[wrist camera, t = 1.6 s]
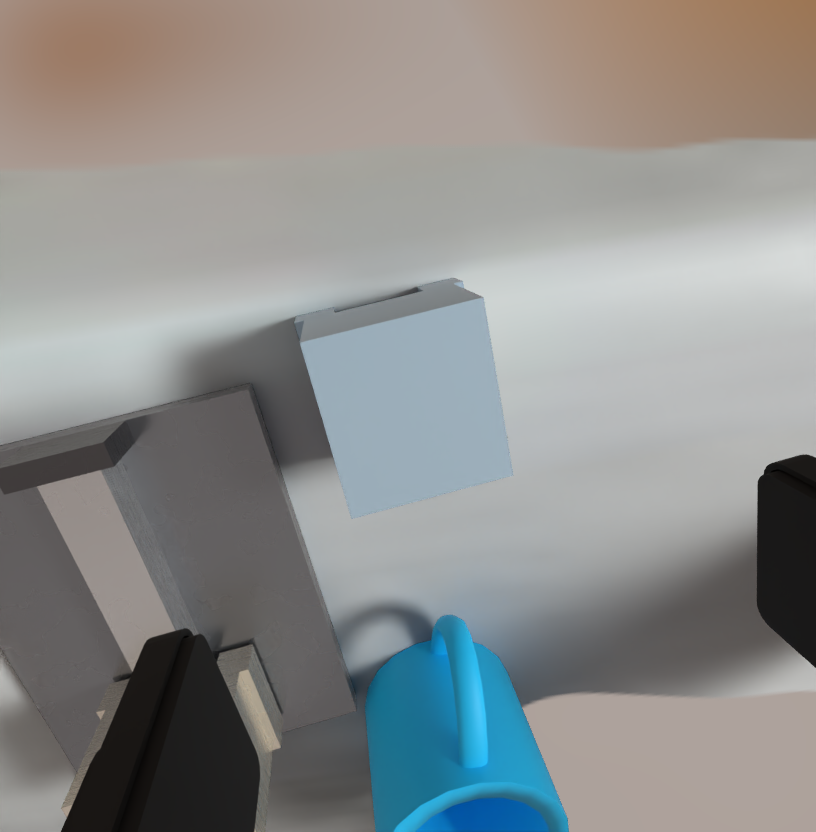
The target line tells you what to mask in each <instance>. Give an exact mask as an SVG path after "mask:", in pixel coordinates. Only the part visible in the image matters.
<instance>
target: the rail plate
mask: <svg viewBox="0 0 816 832" xmlns="http://www.w3.org/2000/svg"><path fill="white" fill-rule="evenodd" d="M183 628H187V629H189V630H190V631H191V632H192V633H193V635H197V634H202V635H203V636H204V637H205V638H206V640H207V642H208V644H209V646H210V649H211V651H212V653H213V655H214V658H215V660H216V662H217V664H218V667H219V669H220V671H221V673H222V676H223V678H224V680H225V682H226V685H227V687H228V689H229V691H230V693H231V696H232V698H233V700H234V702H235V705H236V707H237V709H238V711H239V714H240V716H241V718H242V720H243V723H244V725H245V727H246V729H247V731H248V734H249V736H250V738H251V740H252V743H253V745H254V747H255V749H256V752H257V755H258V759H259V764H260V784H259V794H258V803H257V812H256V821H255V830H254V832H265V826H266V816H267V805H268V795H269V784H270V774H271V764H272V753H273V750H275V749H279V748H281V741H282V733H283V732H286V731H290V730H293V729H296V728H300V727H303V726H307V725H310V724H314V723H317V722H321V721H324V720H327V719H331V718H334V717H338V716H341V715H345V714H348V713H351V712H355V711H357V705H356V695H355V692H354V689H353V686H352V683H351V680H350V677H349V674H348V671H347V668H346V665H345V662H344V659H343V656H342V653H341V650H340V647H339V644H338V641H337V638H336V635H335V632H334V629H333V626H332V623H331V620H330V617H329V614H328V611H327V608H326V605H325V602H324V599H323V596H322V593H321V590H320V587H319V584H318V581H317V578H316V575H315V572H314V569H313V566H312V563H311V560H310V557H309V554H308V551H307V548H306V545H305V542H304V539H303V536H302V534H301V531H300V528H299V525H298V522H297V519H296V516H295V513H294V510H293V507H292V504H291V501H290V498H289V495H288V492H287V489H286V486H285V483H284V480H283V477H282V474H281V471H280V468H279V465H278V462H277V459H276V456H275V453H274V450H273V447H272V444H271V441H270V438H269V435H268V432H267V429H266V426H265V423H264V420H263V417H262V414H261V411H260V408H259V405H258V402H257V399H256V396H255V393H254V390H253V387H252V384H251V383H249V384H245V385H241V386H237V387H233V388H229V389H225V390H221V391H217V392H213V393H209V394H205V395H201V396H197V397H193V398H189V399H185V400H181V401H177V402H173V403H169V404H165V405H161V406H157V407H153V408H149V409H145V410H141V411H137V412H133V413H129V414H125V415H121V416H117V417H113V418H109V419H105V420H101V421H97V422H93V423H89V424H85V425H81V426H77V427H73V428H69V429H65V430H61V431H57V432H53V433H49V434H45V435H41V436H37V437H33V438H29V439H25V440H21V441H17V442H13V443H9V444H5V445H1V446H0V648H1V650H2V651H3V653H4V655H5V656H6V658H7V659H8V661H9V663H10V664H11V666H12V668H13V669H14V671H15V672H16V674H17V676H18V677H19V679H20V681H21V682H22V684H23V685H24V687H25V689H26V690H27V692H28V694H29V695H30V697H31V699H32V700H33V702H34V703H35V705H36V707H37V708H38V710H39V712H40V713H41V715H42V716H43V718H44V720H45V721H46V723H47V725H48V726H49V728H50V729H51V731H52V733H53V734H54V736H55V738H56V739H57V741H58V742H59V744H60V746H61V747H62V749H63V751H64V752H65V754H66V755H67V757H68V759H69V760H70V762H71V764H72V765H73V767H74V769H75V770H76V772H77V774H76V776H75V778H74V781H73V783H72V785H71V787H70V790H69V792H68V794H67V796H66V798H65V801H64V803H63V805H62V807H61V809H62V811H63V812H64V814H65V815H66V817H67V816H68V814H69V812H70V809H71V807H72V805H73V802H74V800H75V798H76V795H77V793H78V791H79V788H80V786H81V784H82V781H83V779H84V777H85V774H86V772H87V770H88V767H89V765H90V763H91V761H92V759H93V758H94V756H95V754H96V752H97V751H99V750H100V748H101V746H102V743H103V741H104V739H105V736H106V734H107V731H108V729H109V727H110V724H111V722H112V720H113V717H114V715H115V712H116V710H117V708H118V705H119V703H120V700H121V698H122V696H123V693H124V691H125V689H126V686H127V684H128V681H129V679H130V677H131V674H132V672H133V670H134V667H135V665H136V662H137V660H138V658H139V655H140V653H141V651H142V648H143V646H144V644H145V642H146V641H147V640H148V639H149V638H151V637H155V636H158V635H162V634H166V633H169V632H173V631H176V630H180V629H183Z"/></svg>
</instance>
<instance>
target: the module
mask: <svg viewBox="0 0 816 832" xmlns="http://www.w3.org/2000/svg"><path fill="white" fill-rule="evenodd" d="M417 288H418V292H417V293H413V294H409V295H405V296H401V297H397V298H393V299H389V300H384V301H380V302H376V303H372V304H368V305H364V306H360V307H356V308H352V309H348V310H344V311H340V312H335V310H334V307H332V308H328V309H324V310H320V311H316V312H312V313H308V314H303V315H299V316H296V318H295V321H294V324H295V327H296V331H297V334H298V338H299V341H300V346H301V349H302V352H303V356H304V359H305V363H306V366H307V369H308V373H309V376H310V380H311V383H312V386H313V390H314V393H315V396H316V400H317V403H318V407H319V410H320V413H321V417H322V420H323V424H324V427H325V430H326V434H327V437H328V441H329V444H330V447H331V451H332V454H333V458H334V461H335V464H336V468H337V471H338V475H339V478H340V481H341V485H342V488H343V492H344V495H345V498H346V502H347V505H348V509H349V512H350V515H351V519H353V518H357V517H361V516H364V515H368V514H372V513H375V512H379V511H383V510H387V509H390V508H394V507H398V506H402V505H405V504H409V503H413V502H416V501H420V500H424V499H428V498H431V497H435V496H439V495H442V494H446V493H450V492H454V491H457V490H461V489H465V488H468V487H472V486H476V485H480V484H483V483H487V482H491V481H494V480H498V479H502V478H506V477H509V476H513V470H512V464H511V458H510V452H509V446H508V440H507V434H506V428H505V422H504V417H503V411H502V405H501V399H500V393H499V387H498V381H497V375H496V369H495V363H494V357H493V351H492V345H491V339H490V334H489V328H488V322H487V316H486V310H485V304H484V298H483V297H482V296H479V295H477V294H475V293H473V292H470V291H468V290H466V289H464V285H463V281H461V280H458V279H456V278H451V279H447V280H443V281H439V282H434V283H430V284H426V285H422V286H418V287H417Z"/></svg>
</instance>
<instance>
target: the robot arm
mask: <svg viewBox="0 0 816 832" xmlns="http://www.w3.org/2000/svg"><path fill="white" fill-rule="evenodd" d="M757 606H758V609H759V612H760V614H761V616H762V618H763V619H764V621H765V622H766V623H767V624H768V625H769V626H770V627H771V628H772V629H773V630H774V631H775V632H776V633H777V634H779V635H780V636H781V637H782V638H783V639H784V640H785V641H786V642H787V643H789V644H790V645H791V646H792V647H793V648H794V649H795V650H796V651H798V652H799V653H800V654H801V655H802V656H803V657H804V658H805V659H806V660H808V661H809V662H810V663H811V664H812V665H813V666H814V667H815V668H816V458H815V457H813V456H810V455H799V456H795V457H792V458H788V459H785V460H781V461H778V462H774V463H771V464H769V465H768V466H767V467H766V469H765V470H764V475H762V476H761V477H760V478H759V480H758V515H757ZM259 784H260V764H259V759H258V755H257V752H256V749H255V747H254V745H253V743H252V740H251V738H250V736H249V734H248V731H247V729H246V727H245V725H244V723H243V720H242V718H241V716H240V714H239V711H238V709H237V707H236V705H235V702H234V700H233V698H232V696H231V693H230V691H229V689H228V687H227V685H226V682H225V680H224V678H223V676H222V673H221V671H220V669H219V667H218V664H217V662H216V660H215V658H214V655H213V653H212V651H211V649H210V646H209V644H208V642H207V640H206V638H205V637H204V636H203V635H202V634H197V635H193V633H192V632H191V631H190V630H189V629H187V628H183V629H180V630H176V631H173V632H169V633H166V634H162V635H158V636H155V637H151V638H149V639H148V640H147V641H146V642H145V644H144V646H143V648H142V651H141V653H140V655H139V658H138V660H137V662H136V665H135V667H134V670H133V672H132V674H131V677H130V679H129V681H128V684H127V686H126V689H125V691H124V693H123V696H122V698H121V700H120V703H119V705H118V708H117V710H116V712H115V715H114V717H113V720H112V722H111V724H110V727H109V729H108V731H107V734H106V736H105V739H104V741H103V743H102V746H101V748H100V750H99V751H97V752H96V754H95V756H94V758H93V759H92V761H91V763H90V765H89V767H88V770H87V772H86V774H85V777H84V779H83V781H82V784H81V786H80V788H79V791H78V793H77V795H76V798H75V800H74V802H73V805H72V807H71V809H70V812H69V814H68V816H67V819H66V821H65V823H64V826H63V828H62V830H61V832H254V830H255V821H256V812H257V803H258V794H259Z"/></svg>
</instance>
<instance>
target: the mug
mask: <svg viewBox="0 0 816 832" xmlns="http://www.w3.org/2000/svg"><path fill="white" fill-rule="evenodd" d="M365 714H366V726H367V738H368V749H369V761H370V772H371V784H372V796H373V807H374V819H375V831H376V832H569V829H568V819H567V816H566V814H565V811H564V809H563V807H562V804H561V801H560V799H559V797H558V794H557V792H556V790H555V787H554V784H553V782H552V780H551V777H550V775H549V772H548V770H547V767H546V765H545V763H544V760H543V758H542V755H541V753H540V750H539V748H538V746H537V743H536V741H535V738H534V736H533V733H532V731H531V729H530V726H529V724H528V721H527V719H526V716H525V714H524V712H523V709H522V707H521V704H520V702H519V699H518V697H517V695H516V692H515V690H514V687H513V685H512V682H511V680H510V677H509V675H508V673H507V671H506V669H505V667H504V666H503V664H502V662H501V661H500V659H499V657H498V656H496V655H495V654H494V653H492V652H491V651H490V650H488V649H487V648H486V647H484V646H483V645H480V644H477V643H474V642H473V641H472V637H471V634H470V632H469V630H468V628H467V626H466V624H465V622H464V621H463V620H461V619H460V618H458V617H456V616H453V615H445V616H442V617H440V618H439V619H438V621H437V622H436V624H435V626H434V628H433V633H432V639H431V640H430V641H426V642H422V643H418V644H415V645H413V646H411V647H409V648H407V649H405V650H403V651H401V652H400V653H398V654H396V655H394V656H393V657H392V658H391V659H390V660H389V661H388V662H387V663H386V664H385V665H384V666H382V667H381V668H380V669H379V670H378V672H377V673H376V675H375V677H374V679H373V680H372V682H371V684H370V686H369V687H368V691H367V697H366V703H365Z"/></svg>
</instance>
